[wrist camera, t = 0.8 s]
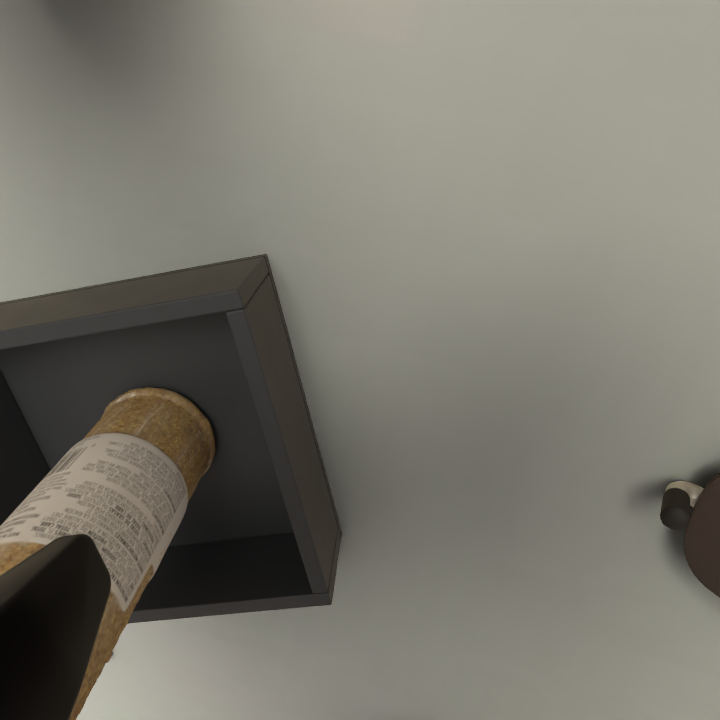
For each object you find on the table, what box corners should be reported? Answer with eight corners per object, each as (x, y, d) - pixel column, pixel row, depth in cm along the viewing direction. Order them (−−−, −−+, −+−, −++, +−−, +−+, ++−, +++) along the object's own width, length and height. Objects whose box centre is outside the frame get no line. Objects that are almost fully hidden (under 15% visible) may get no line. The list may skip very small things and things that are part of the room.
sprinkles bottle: (151, 496, 25) (-95, 902, 12) (80, 410, 23) (-281, 778, 11) (242, 454, 23) (67, 859, 11) (174, 361, 22) (-115, 713, 10)
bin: (341, 533, 25) (331, 605, 22) (88, 561, 27) (42, 631, 23) (266, 253, 20) (238, 289, 17) (-38, 309, 22) (-121, 352, 18)
